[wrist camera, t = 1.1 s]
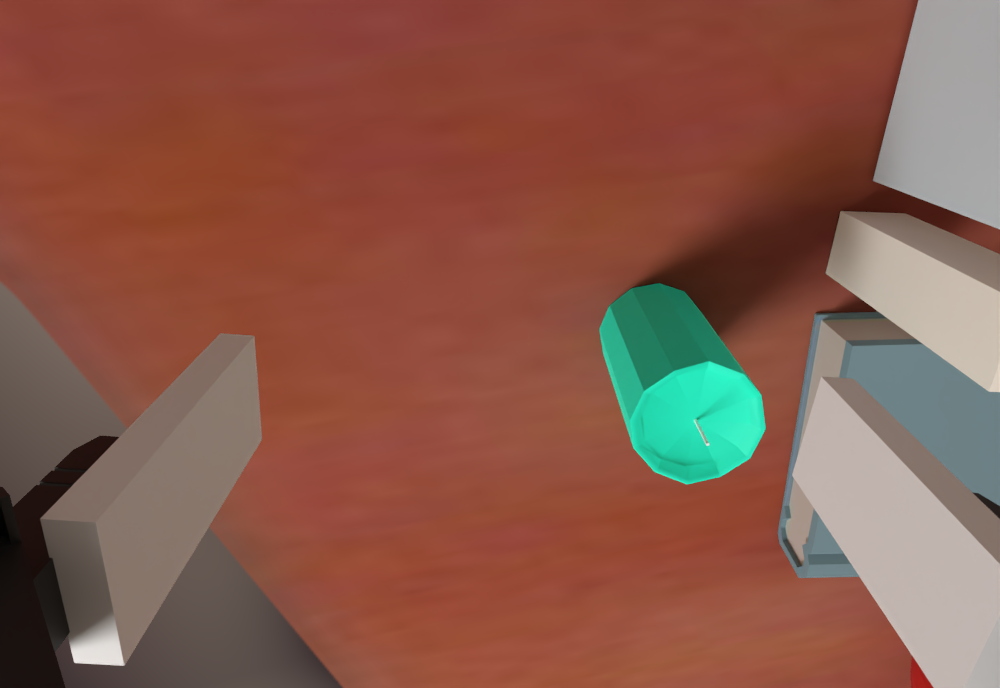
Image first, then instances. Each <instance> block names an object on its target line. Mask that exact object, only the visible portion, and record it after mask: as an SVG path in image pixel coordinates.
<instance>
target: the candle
mask: <svg viewBox="0 0 1000 688" xmlns="http://www.w3.org/2000/svg"><path fill="white" fill-rule="evenodd" d="M599 330H600V337H601V343H602V349H603V354H604V358H605V361H606V364H607V367H608V370H609V373H610V376H611V379H612V383H613V386H614V389H615V392H616V395H617V398H618V401H619V404H620V408H621V411H622V414H623V417H624V420H625V423H626V426H627V429H628V433H629V436H630V439H631V442H632V445H633V448H634V449H635V451H636V452H637V453H638V454H639V455H640V456H641V457H642V458H643V459H644V461H645V462H646V463H647V464H648V465H649V466H650V467H651V468H652V470H653V471H654V472H656V473H659V474H661V475H664V476H666V477H669V478H672V479H674V480H677V481H680V482H682V483H685V484H692V483H696V482H700V481H705V480H709V479H713V478H717V477H721V476H723V475H724V474H726V473H728V472H729V471H731V470H732V469H734V468H736V467H737V466H739V465H740V464H742V463H744V462H745V461H747V460H748V459H750V458H751V456H752V454H753V452H754V450H755V448H756V446H757V444H758V443H759V441H760V439H761V437H762V435H763V433H764V431H765V429H766V428H765V420H764V412H763V404H762V396H761V394H760V392H759V391H758V390H757V388H756V387H755V385H754V384H753V383H752V381H751V380H750V379H749V377H748V376H747V374H746V373H745V372H744V370H743V369H742V368H741V366H740V365H739V363H738V362H737V361H736V359H735V358H734V356H733V355H732V354H731V352H730V351H729V350H728V348H727V347H726V345H725V344H724V343H723V341H722V340H721V339H720V337H719V336H718V334H717V333H716V332H715V330H714V329H713V328H712V326H711V325H710V323H709V322H708V321H707V319H706V318H705V317H704V315H703V314H702V312H701V311H700V310H699V309H698V307H697V306H696V305H695V304H694V303H693V301H692V300H691V299H690V298H689V296H688V295H687V294H686V293H685V292H684V291H682V290H679V289H676V288H673V287H670V286H666V285H663V284H660V283H657V284H651V285H646V286H641V287H635V288H631V289H630V290H629V291H627V292H626V293H625V294H623V295H622V296H621V297H620V298H618V299H617V300H616V301H614V302H613V303H612V304H611V305H609V308H608V310H607V312H606V315H605V317H604V320H603V322H602V324H601V327H600V329H599Z"/></svg>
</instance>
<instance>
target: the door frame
mask: <svg viewBox="0 0 1000 688" xmlns="http://www.w3.org/2000/svg"><path fill="white" fill-rule="evenodd" d="M826 274H827V275H828V276H830V277H831V278H833V279H834V280H835V281H837V282H838V283H839V284H841V285H842V286H844V287H845V288H846V289H848V290H849V291H850V292H852V293H853V294H855V295H856V296H857V297H859V298H860V299H862V300H863V301H864V302H866V303H867V304H868V305H870V306H871V307H873V308H874V309H875V310H877V311H878V312H879V313H881V314H882V315H884V316H885V317H886V318H888V319H889V320H891V321H892V322H893V323H895V324H896V325H897V326H899V327H900V328H902V329H903V330H904V331H906V332H907V333H908V334H910V335H911V336H913V337H914V338H915V339H917V340H918V341H919V342H921V343H922V344H924V345H925V346H926V347H928V348H929V349H931V350H932V351H933V352H935V353H936V354H937V355H939V356H940V357H942V358H943V359H944V360H946V361H947V362H948V363H950V364H951V365H953V366H954V367H955V368H957V369H958V370H960V371H961V372H962V373H964V374H965V375H966V376H968V377H969V378H971V379H972V380H973V381H975V382H976V383H977V384H979V385H980V386H982V387H983V388H984V389H986V390H987V391H989V392H1000V254H998V253H996V252H994V251H991V250H989V249H987V248H984V247H982V246H980V245H977V244H975V243H973V242H970V241H968V240H966V239H964V238H961V237H959V236H957V235H954V234H952V233H950V232H947V231H945V230H943V229H940V228H938V227H936V226H933V225H931V224H929V223H926V222H924V221H922V220H920V219H917V218H915V217H913V216H910V215H908V214H906V213H880V212H852V211H840V215H839V220H838V224H837V228H836V232H835V236H834V241H833V245H832V249H831V253H830V257H829V261H828V266H827V270H826Z"/></svg>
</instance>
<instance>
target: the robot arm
mask: <svg viewBox="0 0 1000 688" xmlns="http://www.w3.org/2000/svg"><path fill="white" fill-rule="evenodd" d="M261 440H262V433H261V420H260V406H259V392H258V379H257V365H256V352H255V338H254V336H250V335H236V334H222V333H220V334H219V335H218V336H217V337H216V339H215V340H214V341H213V342H212V343H211V344H210V345H209V346H208V347H207V348H206V349H205V350H204V351H203V352H202V353H201V354H200V355H199V356H198V357H197V358H196V359H195V360H194V361H193V362H192V363H191V364H190V365H189V366H188V367H187V368H186V369H185V370H184V371H183V372H182V373H181V374H180V376H179V377H178V378H177V379H176V380H175V381H174V382H173V383H172V384H171V385H170V386H169V387H168V388H167V389H166V390H165V391H164V392H163V393H162V394H161V395H160V396H159V397H158V398H157V399H156V400H155V401H154V402H153V403H152V404H151V405H150V406H149V407H148V408H147V409H146V410H145V411H144V413H143V414H142V415H141V416H140V417H139V418H138V419H137V420H136V421H135V422H134V423H133V424H132V425H131V426H130V427H129V428H128V429H127V430H126V431H125V432H124V433H123V434H122V435H121V436H120V437H111V436H99V437H97V438H95V439H93V440H91V441H90V442H88V443H86V444H84V445H82V446H80V447H78V448H76V449H74V450H73V451H72V452H71V453H70V454H69V455H67V456H66V457H65V458H64V459H63V460H62V461H61V462H60V463H59V464H58V465H57V466H56V467H55V471H51V472H50V473H49V474H48V475H46V476H45V477H44V478H43V479H42V480H41V481H40V485H36V486H35V487H34V488H33V489H32V490H31V491H30V492H29V493H27V494H26V495H25V496H24V497H23V498H22V499H21V500H20V501H19V502H18V503H17V504H16V505H15V506H14V507H12V503H11V499H10V495H9V494H8V493H7V492H6V491H5V489H4V488H3V487H0V688H65V685H64V682H63V678H62V675H61V671H60V669H59V665H58V662H57V658H56V655H55V652H56V650H57V649H58V648H59V646H60V645H61V644H62V642H63V641H64V640H65V638H66V636H67V635H68V638H69V642H70V646H71V651H72V655H73V659H74V663H88V664H104V665H121V666H124V665H125V664H126V662H127V660H128V658H129V657H130V655H131V654H132V652H133V651H134V649H135V647H136V646H137V644H138V642H139V641H140V639H141V637H142V636H143V634H144V632H145V631H146V629H147V627H148V626H149V624H150V622H151V621H152V619H153V618H154V616H155V614H156V613H157V611H158V609H159V608H160V606H161V605H162V603H163V601H164V600H165V598H166V596H167V595H168V593H169V591H170V590H171V588H172V586H173V585H174V583H175V581H176V580H177V578H178V577H179V575H180V573H181V572H182V570H183V568H184V567H185V565H186V563H187V562H188V560H189V559H190V557H191V555H192V554H193V552H194V550H195V549H196V547H197V545H198V544H199V542H200V540H201V539H202V537H203V535H204V534H205V532H206V530H207V529H208V527H209V526H210V524H211V522H212V521H213V519H214V517H215V516H216V514H217V513H218V511H219V509H220V508H221V506H222V504H223V503H224V501H225V499H226V498H227V496H228V494H229V493H230V491H231V490H232V488H233V486H234V485H235V483H236V481H237V480H238V478H239V476H240V475H241V473H242V471H243V470H244V468H245V467H246V465H247V463H248V462H249V460H250V458H251V457H252V455H253V453H254V452H255V450H256V448H257V447H258V445H259V444H260V442H261ZM792 476H793V478H794V479H795V481H796V482H797V484H798V485H799V487H800V488H801V490H802V491H803V493H804V494H805V496H806V497H807V499H808V500H809V502H810V503H811V505H812V506H813V508H814V509H815V511H816V512H817V514H818V515H819V517H820V518H821V520H822V521H823V523H824V524H825V526H826V527H827V529H828V530H829V532H830V533H831V535H832V536H833V538H834V539H835V541H836V542H837V544H838V545H839V547H840V548H841V550H842V551H843V553H844V554H845V556H846V557H847V559H848V560H849V562H850V563H851V565H852V566H853V568H854V569H855V571H856V572H857V574H858V575H859V577H860V578H861V580H862V581H863V583H864V584H865V586H866V587H867V589H868V590H869V592H870V593H871V595H872V596H873V598H874V599H875V601H876V602H877V604H878V605H879V607H880V608H881V610H882V611H883V613H884V614H885V616H886V617H887V619H888V620H889V622H890V623H891V625H892V626H893V628H894V629H895V631H896V632H897V634H898V635H899V637H900V638H901V640H902V641H903V643H904V644H905V646H906V647H907V649H908V650H909V652H910V653H911V655H912V656H913V658H914V659H915V661H916V662H917V664H918V665H919V667H920V668H921V670H922V671H923V673H924V674H925V676H926V677H927V679H928V680H929V682H930V683H931V685H932V686H933V688H1000V506H999V505H997V504H995V503H994V502H992V501H990V500H989V499H987V498H986V497H984V496H982V495H981V494H979V493H972V492H971V491H970V490H969V489H968V488H967V487H966V486H965V485H964V484H963V483H962V482H961V481H960V480H959V479H957V478H956V477H955V476H954V475H953V474H952V473H951V472H950V471H949V470H948V469H947V468H946V467H945V466H944V465H943V464H942V463H941V462H940V461H939V460H938V459H937V458H936V457H935V456H934V455H932V454H931V453H930V452H929V451H928V450H927V449H926V448H925V447H924V446H923V445H922V444H921V443H920V442H919V441H918V440H917V439H916V438H915V437H914V436H913V435H912V434H911V433H910V432H909V431H908V430H906V429H905V428H904V427H903V426H902V425H901V424H900V423H899V422H898V421H897V420H896V419H895V418H894V417H893V416H892V415H891V414H890V413H889V412H888V411H887V410H886V409H885V408H884V407H883V406H881V405H880V404H879V403H878V402H877V401H876V400H875V399H874V398H873V397H872V396H871V395H870V394H869V393H868V392H867V391H866V390H865V389H864V388H863V387H862V386H861V385H860V384H859V383H858V382H856V381H855V380H854V379H850V378H836V377H822V376H821V379H820V382H819V386H818V389H817V393H816V396H815V399H814V403H813V406H812V409H811V413H810V416H809V420H808V423H807V426H806V430H805V433H804V437H803V440H802V443H801V447H800V450H799V453H798V457H797V460H796V464H795V467H794V470H793V474H792Z"/></svg>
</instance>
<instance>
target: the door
mask: <svg viewBox="0 0 1000 688" xmlns="http://www.w3.org/2000/svg"><path fill="white" fill-rule="evenodd" d="M873 181H874V182H877V183H880V184H882V185H885V186H888V187H890V188H893V189H895V190H898V191H901V192H903V193H906V194H909V195H911V196H914V197H916V198H919V199H922V200H924V201H927V202H929V203H932V204H935V205H937V206H940V207H943V208H945V209H948V210H950V211H953V212H956V213H958V214H961V215H963V216H966V217H969V218H971V219H974V220H977V221H979V222H982V223H984V224H987V225H990V226H992V227H995V228H998V229H1000V0H918V4H917V8H916V12H915V16H914V20H913V24H912V28H911V32H910V36H909V40H908V44H907V48H906V52H905V56H904V60H903V63H902V67H901V71H900V75H899V79H898V83H897V87H896V91H895V95H894V99H893V103H892V107H891V111H890V115H889V119H888V123H887V127H886V131H885V135H884V138H883V142H882V146H881V150H880V154H879V158H878V162H877V166H876V170H875V174H874V178H873Z"/></svg>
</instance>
